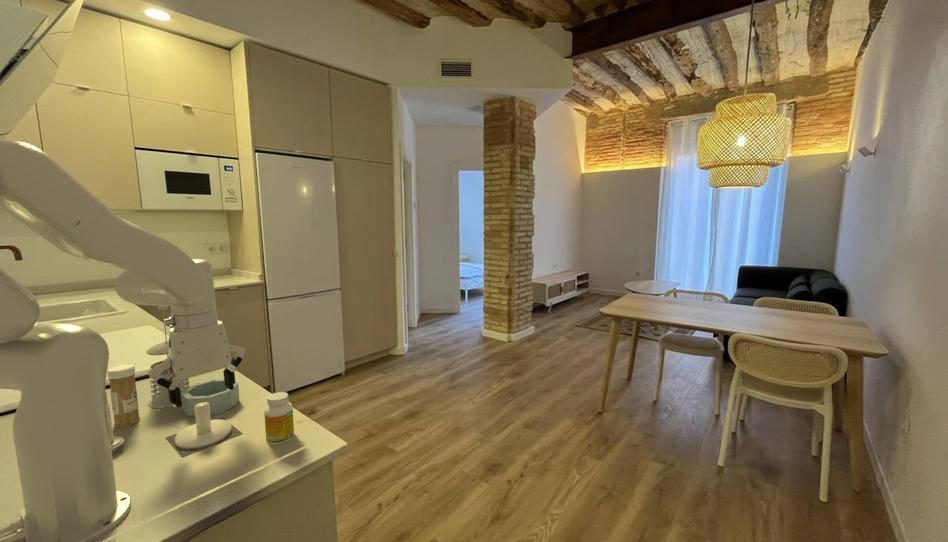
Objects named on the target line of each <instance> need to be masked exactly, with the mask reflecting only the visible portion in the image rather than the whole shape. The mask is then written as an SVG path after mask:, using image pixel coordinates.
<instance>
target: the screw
mask: <svg viewBox="0 0 948 542" xmlns="http://www.w3.org/2000/svg"><path fill="white" fill-rule="evenodd" d="M105 396H106V409H107V417H108V426H109V434H110V442H111V451H112V454H114V453H116V452H117V451H118V449H119V447H120V446H122V445H123V444H124V442H125V437H122V436H117V435H115V436H114V433H113V432H114V431H113V430H114V429H113V422H112V421H113V420H112V411H111V408H110V407H111V405H110V402H109V401H108V394H107V392H106V391H105Z"/></svg>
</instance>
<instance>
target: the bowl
mask: <svg viewBox="0 0 948 542" xmlns="http://www.w3.org/2000/svg"><path fill="white" fill-rule="evenodd" d="M233 385H234V389H233V390H229V389H228V388H227V387H225V382H224V378H222V379H220V378H219V379H210V380H207V381H202V382H199V383H195V384H192V385H189V386H190V387H189V388H187V389H186V390H185V391H183V392H182V393H181V401H182V406H181V407H182V408H181V410H182V411H183V412H184V414H185V415H186V416H187V417H190V418H195V407H194V406H195V405H196V404H199V403H202V402H208V403H209V406H210V417H211V416H216V415H219V414H221V413H224V412H227V411H229V410H231V409H232V408H234V407H235V406H236V405H237V404H238V401H239V400H240V388H239V386H240V385H239V382H237V381H235V384H233Z"/></svg>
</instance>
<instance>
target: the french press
mask: <svg viewBox="0 0 948 542" xmlns="http://www.w3.org/2000/svg"><path fill="white" fill-rule="evenodd" d="M168 309H169V306H160V305H159V306H158V311H162V315H163V316H162V317H163V320H164V319H166V318H165V311H166V310H168ZM163 327H164V336H165V337H164V338H165V341H163V342H160V343H157V344H155V345H153V346H152V347H150V348H148V349H147V350H146V351H145V352H146V354H147V355H149V356H165V355H166V357H167V358H165V359H164V360H160V361H157V362H154V363H153V364H151V365H150V369H151V370H152V369H153V368H155V367H156V366H158V365H159V364H161V363H162V362H164V361H165V360H166V359H168V358H169V340H168V339H167V326H165V325H164V324H163ZM171 374H172V373H171V371H170V367H169V368H168V369H166V370H165V371H163V372H162V373H161V374H160V375H161V377H163V378H165V379H167V380H168V378H169V377H170V376H171ZM149 379H152V378H151V377H150V376H149ZM149 383H150V385H149V386H150V392H151V396H150V397H151V399H150V400H149V401H148V402H149V403H148V402H147V407H149V408H150V407H152V408H151V409H165V408H164V407H167V408H170V407H169V406H172V407H174V406H173V405H175V404H174V403H173V404H171V403H170V400H169V392H168V388H165V387H163V386H161V385H159V384H158V383H157V382H155V381H154V380H153V379H152V380H149ZM151 384H152V385H151ZM190 386H191V385H190V378H187V379H182V380H181V382H180V383H179V384H178V386H177V387H178V388H179V389H180V394H181V393H182V392H183V391H185V390H186V389H187V388H189V387H190ZM151 389H152V390H151Z"/></svg>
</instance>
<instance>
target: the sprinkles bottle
mask: <svg viewBox="0 0 948 542" xmlns="http://www.w3.org/2000/svg"><path fill="white" fill-rule="evenodd" d="M135 374H136V368H135V364H121V365H117V366H113V367H110V368H109V369H107V378H108V380H109V387H110V388H109V389H110V399H111V408H112V413H113V420H114V424H113V426H114V427H115V428H125V427H129V426H132V425H134V424H136V423H138V422H139V421H140V420H141V418H140V413H139V402H138V401H139V399H138V391H137V386H136V377H135Z"/></svg>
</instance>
